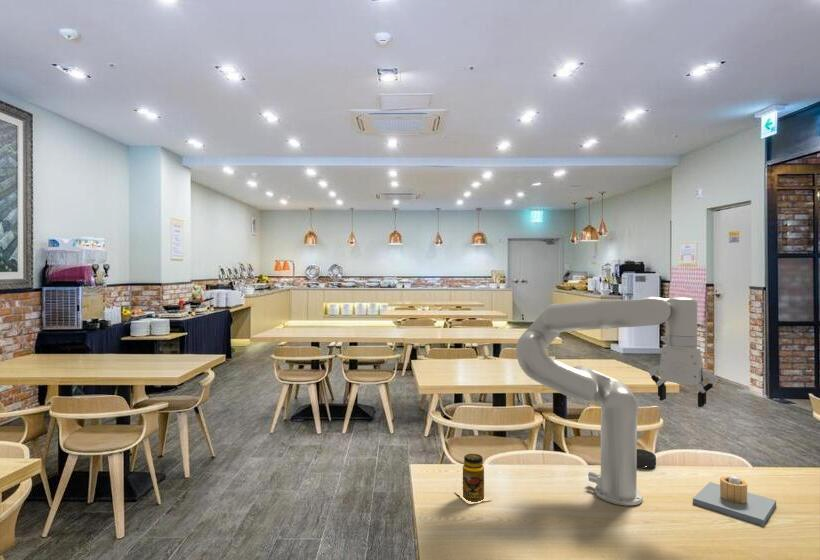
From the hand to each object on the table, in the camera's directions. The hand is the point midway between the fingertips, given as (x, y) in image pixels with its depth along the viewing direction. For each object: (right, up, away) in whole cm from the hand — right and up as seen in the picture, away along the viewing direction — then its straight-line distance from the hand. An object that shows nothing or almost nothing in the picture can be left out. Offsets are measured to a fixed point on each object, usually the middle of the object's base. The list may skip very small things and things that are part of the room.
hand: (681, 402), depth 129 cm
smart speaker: (+3, -29, +29) cm, 41 cm away
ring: (+15, -27, 0) cm, 31 cm away
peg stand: (+15, -28, 0) cm, 32 cm away
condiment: (-58, -28, +4) cm, 65 cm away
